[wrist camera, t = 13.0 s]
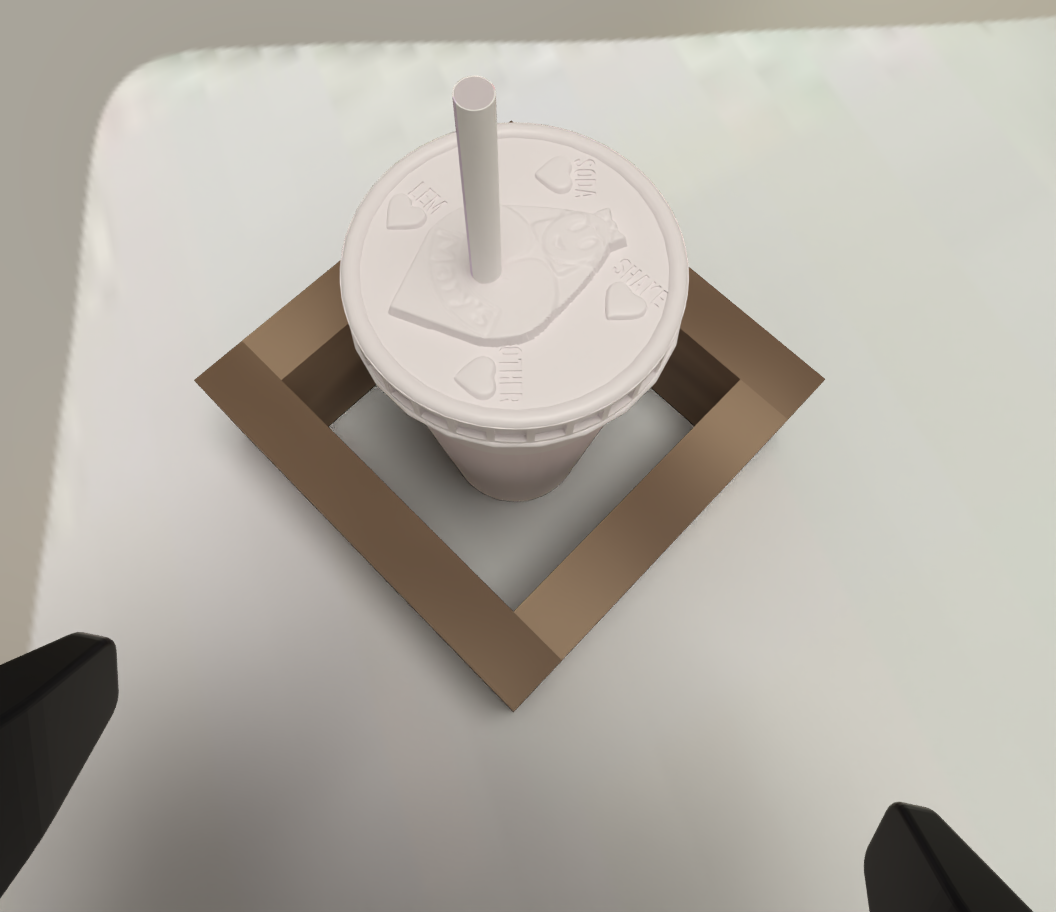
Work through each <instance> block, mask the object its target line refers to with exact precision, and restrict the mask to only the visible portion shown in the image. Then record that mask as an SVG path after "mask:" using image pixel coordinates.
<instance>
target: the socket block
mask: <svg viewBox="0 0 1056 912" xmlns="http://www.w3.org/2000/svg"><path fill="white" fill-rule="evenodd" d="M511 122H512V121H510V122H509V123H511ZM340 262H341V260H340V261H339V262H338V263H337V264H335V265H334V266H333V267H332V268H330V269H329V270H328V271H327V272H326V273H324V274H323V275H322V276H321V277H319V278H318V279H317V280H316V281H315V282H313V283H312V284H311V285H310V286H308V287H307V288H306V289H305V290H304V291H302V292H301V293H300V294H299V295H297V296H296V297H295V298H294V299H293V300H291V301H290V302H289V303H288V304H286V305H285V306H284V307H283V308H282V309H280V310H279V311H278V312H277V313H275V314H274V315H273V316H272V317H271V318H269V319H268V320H267V321H266V322H264V323H263V324H262V325H261V326H260V327H258V328H257V329H256V330H255V331H253V332H252V333H251V334H250V335H249V336H247V337H246V338H245V339H244V340H242V341H241V342H240V343H239V344H238V345H236V346H235V347H234V348H233V349H232V350H230V351H229V352H228V353H227V354H225V355H224V356H223V357H222V358H221V359H219V360H218V361H217V362H216V363H214V364H213V365H212V366H211V367H210V368H208V369H207V370H206V371H205V372H203V373H202V374H201V375H200V376H199V377H197V378H196V379H195V380H194V381H195V382H196V383H197V384H198V385H199V386H200V387H201V388H202V389H203V390H204V391H205V393H206V394H207V395H208V396H209V397H210V398H211V399H212V400H213V401H214V402H215V403H216V404H217V405H218V406H219V407H220V408H221V410H222V411H223V412H224V413H225V414H226V415H227V416H228V417H229V418H230V419H231V420H232V421H233V422H234V423H235V424H236V426H237V427H238V428H239V429H240V430H241V431H242V432H243V433H244V434H245V435H246V436H247V437H248V438H249V439H250V440H251V441H252V442H253V443H254V444H255V445H256V446H257V448H258V449H259V450H260V451H261V452H262V453H263V454H264V455H265V456H266V457H267V458H268V459H269V460H270V461H271V462H272V463H273V464H274V465H275V466H276V467H277V468H278V469H279V470H280V471H281V472H282V473H283V474H284V475H285V476H286V477H287V479H288V480H289V481H290V482H291V483H292V484H293V485H294V486H295V487H296V488H297V489H298V490H299V491H300V492H301V493H302V494H303V495H304V496H305V497H306V498H307V499H308V500H309V501H310V502H311V503H312V504H313V505H314V506H315V507H316V509H317V510H318V511H319V512H320V513H321V514H322V515H323V516H324V517H325V518H326V519H327V520H328V521H329V522H330V523H331V524H332V525H333V526H334V527H335V528H336V529H337V530H338V531H339V532H340V533H341V534H342V535H343V536H344V537H345V538H346V540H347V541H348V542H349V543H350V544H351V545H352V546H353V547H354V548H355V549H356V550H357V551H358V552H359V553H360V554H361V555H362V556H363V557H364V558H365V559H366V560H367V561H368V562H369V563H370V564H371V565H372V566H373V567H374V568H375V570H376V571H377V572H378V573H379V574H380V575H381V576H382V577H383V578H384V579H385V580H386V581H387V582H388V583H389V584H390V585H391V586H392V587H393V588H394V589H395V590H396V591H397V592H398V593H399V594H400V595H401V596H402V597H403V598H404V600H405V601H406V602H407V603H408V604H409V605H410V606H411V607H412V608H413V609H414V610H415V611H416V612H417V613H418V614H419V615H420V616H421V617H422V618H423V619H424V620H425V621H426V622H427V623H428V624H429V625H430V626H431V627H432V628H433V629H434V631H435V632H436V633H437V634H438V635H439V636H440V637H441V638H442V639H443V640H444V641H445V642H446V643H447V644H448V645H449V646H450V647H451V648H452V649H453V650H454V651H455V652H456V653H457V654H458V655H459V656H460V657H461V658H462V659H463V661H464V662H465V663H466V664H467V665H468V666H469V667H470V668H471V669H472V670H473V671H474V672H475V673H476V674H477V675H478V676H479V677H480V678H481V679H482V680H483V681H484V682H485V683H486V684H487V685H488V686H489V687H490V688H491V689H492V691H493V692H494V693H495V694H496V695H497V696H498V697H499V698H500V699H501V700H502V701H503V702H504V703H505V704H506V705H507V706H508V707H509V708H510V709H511V710H512V711H513V712H514V711H515V710H516V709H517V708H518V707H519V706H520V705H521V704H522V702H523V701H524V700H525V699H526V698H527V697H528V696H529V695H530V694H531V693H532V692H533V691H534V690H535V689H536V688H537V687H538V685H539V684H540V683H541V682H542V681H543V680H544V679H545V678H546V677H547V676H548V675H549V674H550V673H551V672H552V671H553V669H554V668H555V667H556V666H557V665H558V664H559V663H560V662H561V661H562V660H563V659H564V658H565V657H566V656H567V655H568V654H569V652H570V651H571V650H572V649H573V648H574V647H575V646H576V645H577V644H578V643H579V642H580V641H581V640H582V639H583V638H584V636H585V635H586V634H587V633H588V632H589V631H590V630H591V629H592V628H593V627H594V626H595V625H596V624H597V623H598V622H599V620H600V619H601V618H602V617H603V616H604V615H605V614H606V613H607V612H608V611H609V610H610V609H611V608H612V607H613V606H614V605H615V603H616V602H617V601H618V600H619V599H620V598H621V597H622V596H623V595H624V594H625V593H626V592H627V591H628V590H629V589H630V587H631V586H632V585H633V584H634V583H635V582H636V581H637V580H638V579H639V578H640V577H641V576H642V575H643V574H644V573H645V572H646V570H647V569H648V568H649V567H650V566H651V565H652V564H653V563H654V562H655V561H656V560H657V559H658V558H659V557H660V556H661V554H662V553H663V552H664V551H665V550H666V549H667V548H668V547H669V546H670V545H671V544H672V543H673V542H674V541H675V540H676V539H677V537H678V536H679V535H680V534H681V533H682V532H683V531H684V530H685V529H686V528H687V527H688V526H689V525H690V524H691V523H692V521H693V520H694V519H695V518H696V517H697V516H698V515H699V514H700V513H701V512H702V511H703V510H704V509H705V508H706V507H707V505H708V504H709V503H710V502H711V501H712V500H713V499H714V498H715V497H716V496H717V495H718V494H719V493H720V492H721V491H722V490H723V488H724V487H725V486H726V485H727V484H728V483H729V482H730V481H731V480H732V479H733V478H734V477H735V476H736V475H737V474H738V472H739V471H740V470H741V469H742V468H743V467H744V466H745V465H746V464H747V463H748V462H749V461H750V460H751V459H752V458H753V457H754V455H755V454H756V453H757V452H758V451H759V450H760V449H761V448H762V447H763V446H764V445H765V444H766V443H767V442H768V441H769V439H770V438H771V437H772V436H773V435H774V434H775V433H776V432H777V431H778V430H779V429H780V428H781V427H782V426H783V424H784V423H785V422H786V421H787V420H788V419H789V418H790V417H791V416H792V415H793V414H794V413H795V411H796V410H797V409H798V408H799V407H800V406H801V405H802V404H803V403H804V402H805V401H806V400H807V399H808V397H809V396H810V395H811V394H812V393H813V392H814V391H815V390H816V389H817V388H818V387H819V386H820V384H821V383H822V382H823V381H824V380H825V379H824V378H823V377H822V376H821V375H820V374H818V373H817V372H816V371H815V370H814V369H812V368H811V367H810V366H809V365H807V364H806V363H805V362H804V361H803V360H801V359H800V358H799V357H798V356H797V355H795V354H794V353H793V352H792V351H790V350H789V349H788V348H787V347H786V346H784V345H783V344H782V343H781V342H780V341H778V340H777V339H776V338H775V337H773V336H772V335H771V334H770V333H769V332H767V331H766V330H765V329H764V328H763V327H761V326H760V325H759V324H758V323H756V322H755V321H754V320H753V319H752V318H750V317H749V316H748V315H747V314H746V313H744V312H743V311H742V310H741V309H739V308H738V307H737V306H736V305H735V304H733V303H732V302H731V301H730V300H729V299H727V298H726V297H725V296H724V295H722V294H721V293H720V292H719V291H718V290H716V289H715V288H714V287H713V286H712V285H710V284H709V283H708V282H707V281H705V280H704V279H703V278H702V277H701V276H699V275H698V274H697V273H696V272H694V271H693V270H692V269H691V268H690V267H689V286H688V296H687V301H686V307H685V311H684V314H683V317H682V320H681V325H680V330H679V334H678V339H677V344H676V347H675V349H674V350H673V352H672V354H671V356H670V358H669V360H668V361H667V363H666V365H665V367H664V369H663V371H662V372H661V374H660V376H659V378H658V380H657V381H656V383H655V384H654V385H653V386H652V387H651V388H652V389H653V390H654V391H656V392H657V393H658V394H659V395H660V396H661V397H662V398H664V399H665V400H666V401H667V402H668V403H669V404H670V405H672V406H673V407H674V408H675V409H676V410H677V411H678V412H680V413H681V414H682V415H683V416H684V417H685V418H686V419H688V420H689V421H690V422H691V423H692V424H693V425H694V427H693V428H692V430H691V431H690V432H689V433H688V434H687V435H686V436H685V437H684V438H683V439H682V440H681V441H680V442H679V443H678V444H677V445H676V446H675V447H674V448H673V449H672V450H671V451H670V452H669V453H668V454H667V455H666V456H665V457H664V458H663V459H662V460H661V461H660V462H659V463H658V464H657V465H656V466H655V467H654V468H653V469H652V470H651V471H650V472H649V474H648V475H647V476H646V477H645V478H644V479H643V480H642V481H641V482H640V483H639V484H638V485H637V486H636V487H635V488H634V489H633V490H632V491H631V492H630V493H629V494H628V495H627V496H626V497H625V498H624V499H623V500H622V501H621V502H620V503H619V504H618V505H617V506H616V507H615V508H614V509H613V510H612V511H611V512H610V513H609V514H608V515H607V516H606V518H605V519H604V520H603V521H602V522H601V523H600V524H599V525H598V526H597V527H596V528H595V529H594V530H593V531H592V532H591V533H590V534H589V535H588V536H587V537H586V538H585V539H584V540H583V541H582V542H581V543H580V544H579V545H578V546H577V547H576V548H575V549H574V550H573V551H572V552H571V553H570V554H569V555H568V556H567V557H566V558H565V559H564V560H563V562H562V563H561V564H560V565H559V566H558V567H557V568H556V569H555V570H554V571H553V572H552V573H551V574H550V575H549V576H548V577H547V578H546V579H545V580H544V581H543V582H542V583H541V584H540V585H539V586H538V587H537V588H536V589H535V590H534V591H533V592H532V593H531V594H530V595H529V596H528V597H527V598H526V599H525V600H524V601H523V602H522V603H521V604H520V605H519V607H518V608H517V609H516V610H515V611H514V612H513V611H512V610H511V609H510V608H509V607H508V606H507V605H506V604H505V603H504V602H503V601H502V600H501V599H500V598H499V597H498V596H497V595H496V594H495V593H494V592H493V591H492V590H491V589H490V588H489V587H488V586H487V585H486V584H485V583H484V582H483V581H482V580H481V579H480V578H479V577H478V576H477V575H476V574H475V573H474V572H473V571H472V570H471V569H470V568H469V567H468V566H467V565H466V564H465V563H464V562H463V561H462V560H461V559H460V558H459V557H458V556H457V555H456V554H455V553H454V552H453V551H452V550H451V549H450V548H449V547H448V546H447V545H446V544H445V543H444V542H443V541H442V540H441V539H440V538H439V537H438V536H437V535H436V534H435V533H434V532H433V531H432V530H431V529H430V528H429V527H428V526H427V525H426V524H425V523H424V522H423V521H422V520H421V519H420V518H419V517H418V516H417V515H416V514H415V513H414V512H413V511H412V510H411V509H410V508H409V507H408V506H407V505H406V504H405V503H404V502H403V501H402V500H401V499H400V498H399V497H398V496H397V495H396V494H395V493H394V492H393V491H392V490H391V489H390V488H389V487H388V486H387V485H386V484H385V483H384V482H383V481H382V480H381V479H380V478H379V477H378V476H377V475H376V474H375V473H374V472H373V471H372V470H371V469H370V468H369V467H368V466H367V465H366V464H365V463H364V462H363V461H362V460H361V459H360V458H359V457H358V456H357V455H356V454H355V453H354V452H353V451H352V450H351V449H350V448H349V447H348V446H347V445H346V444H345V443H344V442H343V441H342V440H341V439H340V438H339V437H338V436H337V435H336V434H335V433H334V432H333V431H332V430H331V429H330V428H329V427H328V426H329V425H330V424H332V423H333V422H334V421H335V420H336V419H337V418H338V417H340V416H341V415H342V414H343V413H344V412H345V411H346V410H347V409H349V408H350V407H351V406H352V405H353V404H354V403H355V402H357V401H358V400H359V399H360V398H361V397H362V396H363V395H365V394H366V393H367V392H368V391H369V390H370V389H371V388H373V387H374V386H375V385H376V383H375V382H374V380H373V378H372V377H371V375H370V373H369V371H368V370H367V368H366V366H365V365H364V363H363V361H362V360H361V358H360V356H359V354H358V353H357V351H356V349H355V346H354V342H353V338H352V333H351V329H350V326H349V323H348V320H347V317H346V315H345V311H344V307H343V302H342V298H341V289H340Z"/></svg>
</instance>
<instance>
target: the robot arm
mask: <svg viewBox="0 0 1056 912" xmlns="http://www.w3.org/2000/svg"><path fill="white" fill-rule="evenodd" d="M118 693H119V689H118V671H117V652H116V645H115V644H114V642H113V640H111V639H109V638H107V637H103V636H98V635H93V634H88V633H84V632H77V633H73V634H70V635H67V636H65V637H63V638H60V639H58V640H56V641H54V642H51V643H49V644H47V645H45V646H42V647H40V648H38V649H36V650H33V651H31V652H29V653H26V654H24V655H22V656H20V657H17V658H15V659H13V660H11V661H8V662H6V663H4V664H2V665H0V898H1V897H2V895H3V894H4V892H5V891H6V890H7V888H8V887H9V885H10V884H11V882H12V881H13V880H14V878H15V877H16V875H17V874H18V873H19V871H20V870H21V868H22V867H23V865H24V864H25V863H26V861H27V860H28V858H29V857H30V855H31V854H32V852H33V851H34V849H35V848H36V846H37V845H38V843H39V842H40V840H41V839H42V837H43V836H44V834H45V833H46V831H47V829H48V827H49V826H50V824H51V822H52V821H53V819H54V817H55V816H56V814H57V812H58V810H59V809H60V807H61V805H62V803H63V802H64V800H65V798H66V796H67V795H68V793H69V791H70V789H71V787H72V786H73V784H74V782H75V780H76V779H77V777H78V775H79V773H80V771H81V770H82V768H83V766H84V764H85V763H86V761H87V759H88V757H89V756H90V754H91V752H92V750H93V748H94V747H95V745H96V743H97V741H98V740H99V738H100V736H101V734H102V733H103V731H104V729H105V727H106V725H107V724H108V722H109V720H110V718H111V717H112V715H113V713H114V710H115V708H116V704H117V701H118ZM864 875H865V882H866V889H867V897H868V904H869V911H870V912H1033V911H1032V910H1031V909H1030V908H1029V907H1028V906H1027V905H1026V904H1025V903H1024V902H1023V901H1022V900H1021V899H1020V898H1019V897H1018V896H1017V895H1016V894H1015V893H1014V892H1013V891H1012V890H1011V889H1010V888H1009V887H1008V885H1007V884H1006V883H1005V882H1004V881H1003V880H1002V879H1001V878H1000V877H999V876H998V875H997V874H996V873H995V872H994V871H993V870H992V869H991V868H990V867H989V866H988V865H987V864H986V863H985V862H984V861H983V860H982V859H981V858H980V857H979V856H978V855H977V854H976V853H975V852H974V851H973V850H972V849H971V848H970V847H969V846H968V845H967V844H966V843H965V842H964V841H963V840H962V839H961V838H960V837H959V836H958V835H957V833H956V832H955V831H954V830H953V829H952V828H951V827H950V826H949V825H948V824H947V823H946V822H945V821H944V820H943V819H942V818H941V817H940V816H939V815H938V814H937V813H935V812H934V811H933V810H931V809H929V808H926V807H922V806H917V805H913V804H908V803H903V802H895V803H893V804H892V805H890V806H889V807H888V809H887V810H886V812H885V814H884V816H883V818H882V820H881V822H880V824H879V826H878V828H877V830H876V832H875V834H874V836H873V838H872V840H871V842H870V844H869V846H868V848H867V850H866V854H865V859H864Z"/></svg>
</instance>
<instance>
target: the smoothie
mask: <svg viewBox="0 0 1056 912" xmlns="http://www.w3.org/2000/svg"><path fill="white" fill-rule="evenodd" d="M452 97H453V107H454V116H455V126H456V131H455V132H452V133H449V134H446V135H444V136H441V137H439V138H436V139H434V140H432V141H430V142H428V143H426V144H424V145H422V146H420V147H418V148H417V149H415V150H414V151H412V152H410V153H409V154H407V155H406V156H404V157H403V158H402V159H400V160H399V161H398V162H396V163H395V164H394V165H393V166H392V167H391V168H389V169H388V170H387V171H386V172H385V173H384V174H383V175H382V176H381V177H380V178H379V179H378V180H377V181H376V183H375V184H374V185H373V186H372V187H371V189H370V190H369V191H368V193H367V194H366V195H365V197H364V198H363V200H362V202H361V203H360V205H359V206H358V208H357V210H356V212H355V214H354V216H353V218H352V220H351V222H350V225H349V228H348V231H347V233H346V236H345V240H344V244H343V249H342V254H341V262H340V289H341V298H342V302H343V307H344V311H345V315H346V317H347V320H348V323H349V326H350V329H351V333H352V338H353V342H354V346H355V349H356V351H357V353H358V354H359V356H360V358H361V360H362V361H363V363H364V365H365V366H366V368H367V370H368V371H369V373H370V375H371V377H372V378H373V380H374V382H375V383H376V385H377V386H378V387H379V388H380V389H381V390H382V391H383V392H384V393H385V394H386V395H387V396H389V397H390V398H391V399H392V400H393V401H394V402H395V403H396V404H397V405H398V406H399V407H400V408H401V409H402V410H403V411H404V412H405V413H406V414H408V415H409V416H411V417H412V418H414V419H416V420H418V421H420V422H422V423H424V424H425V425H427V427H428V428H429V429H430V431H431V432H432V433H433V435H434V436H435V438H436V439H437V440H438V442H439V443H440V444H441V446H442V447H443V448H444V450H445V451H446V453H447V454H448V455H449V457H450V458H451V459H452V461H453V462H454V463H455V465H456V466H457V468H458V469H459V470H460V472H461V473H462V474H463V476H464V477H465V478H466V480H467V481H468V482H469V483H470V484H471V485H472V486H474V487H475V488H476V489H477V490H479V491H480V492H482V493H484V494H486V495H488V496H490V497H492V498H495V499H499V500H503V501H512V502H519V501H527V500H532V499H536V498H538V497H541V496H543V495H545V494H547V493H549V492H550V491H552V490H553V489H555V488H556V487H557V486H558V485H560V484H561V483H562V482H563V480H564V479H565V478H566V477H567V475H568V474H569V473H570V471H571V470H572V469H573V467H574V466H575V464H576V463H577V462H578V460H579V459H580V457H581V456H582V455H583V453H584V452H585V450H586V449H587V448H588V446H589V445H590V444H591V442H592V441H593V439H594V438H595V437H596V435H597V434H598V432H599V431H600V430H601V428H602V427H603V426H604V425H605V424H607V423H609V422H610V421H612V420H614V419H616V418H617V417H619V416H621V415H623V414H624V413H626V412H627V411H628V410H629V409H630V408H631V407H632V406H633V405H634V404H635V403H636V402H637V401H638V400H639V399H640V398H641V397H642V396H643V395H644V394H645V393H646V392H647V391H648V390H649V389H650V388H651V387H652V386H653V385H654V384H655V383H656V381H657V380H658V378H659V376H660V374H661V372H662V371H663V369H664V367H665V365H666V363H667V361H668V360H669V358H670V356H671V354H672V352H673V350H674V349H675V347H676V344H677V339H678V334H679V330H680V325H681V320H682V317H683V314H684V311H685V307H686V301H687V296H688V286H689V265H688V258H687V251H686V246H685V242H684V239H683V235H682V232H681V230H680V227H679V224H678V222H677V219H676V217H675V215H674V214H673V212H672V210H671V208H670V206H669V204H668V203H667V201H666V200H665V198H664V197H663V195H662V194H661V192H660V191H659V190H658V189H657V187H656V186H655V185H654V184H653V182H652V181H651V180H650V179H649V178H648V177H647V176H646V175H645V174H644V173H643V172H642V171H641V170H640V169H639V168H637V167H636V166H635V165H634V164H633V163H632V162H630V161H629V160H628V159H626V158H625V157H623V156H622V155H621V154H619V153H618V152H616V151H614V150H613V149H611V148H609V147H608V146H606V145H604V144H602V143H600V142H598V141H596V140H594V139H592V138H589V137H587V136H584V135H581V134H579V133H576V132H573V131H569V130H566V129H562V128H558V127H553V126H548V125H542V124H533V123H515V122H511V123H497V112H496V90H495V87H494V85H493V84H492V83H491V82H490V81H489V80H488V79H486V78H484V77H481V76H468V77H465V78H462V79H461V80H459V81H458V82H457V83H456V84H455V86H454V88H453V91H452Z"/></svg>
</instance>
